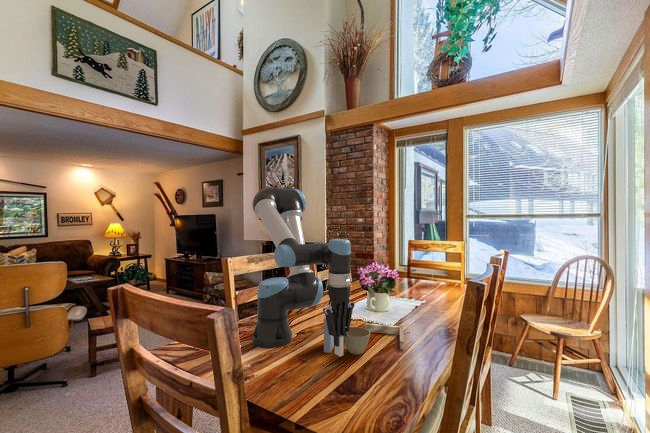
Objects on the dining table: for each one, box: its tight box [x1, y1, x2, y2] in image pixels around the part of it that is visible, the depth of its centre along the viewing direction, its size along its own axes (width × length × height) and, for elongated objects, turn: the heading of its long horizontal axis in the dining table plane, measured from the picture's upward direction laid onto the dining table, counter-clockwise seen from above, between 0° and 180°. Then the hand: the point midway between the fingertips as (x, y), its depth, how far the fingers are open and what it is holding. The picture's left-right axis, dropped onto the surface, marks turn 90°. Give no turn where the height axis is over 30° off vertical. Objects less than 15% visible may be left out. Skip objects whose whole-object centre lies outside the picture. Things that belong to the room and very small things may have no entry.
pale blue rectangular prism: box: [323, 316, 335, 354], centre depth 109 cm, size 2×9×12 cm, turn 166°
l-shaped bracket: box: [364, 322, 405, 351], centre depth 117 cm, size 16×16×3 cm
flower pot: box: [344, 326, 371, 355], centre depth 106 cm, size 10×10×7 cm
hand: (339, 354), depth 100 cm, fingers closed
